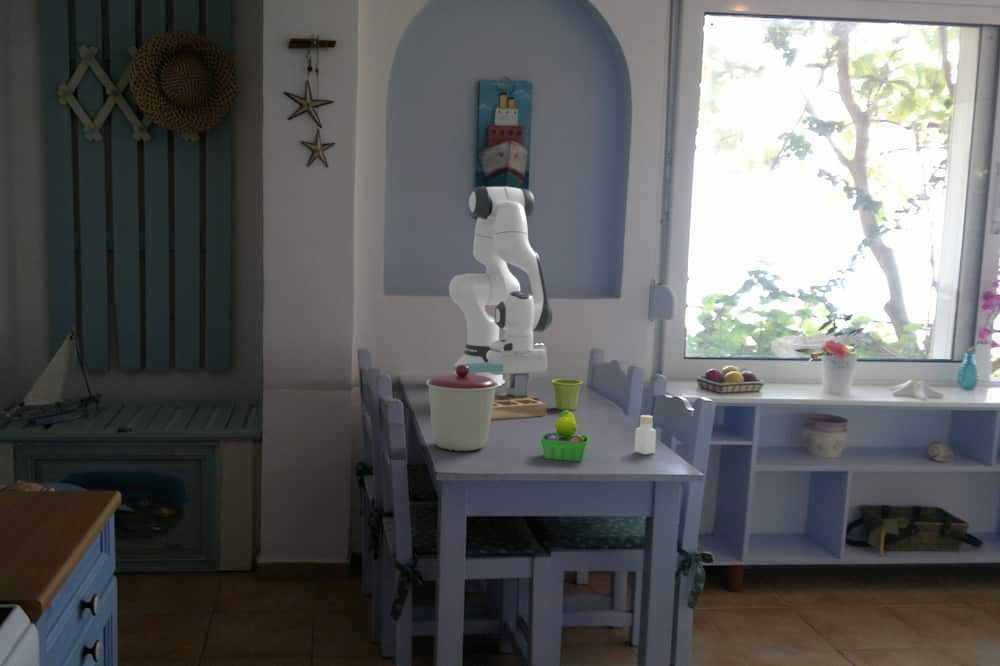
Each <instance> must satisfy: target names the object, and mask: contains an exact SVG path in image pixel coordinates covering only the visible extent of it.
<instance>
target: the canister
mask: <svg viewBox="0 0 1000 666" xmlns="http://www.w3.org/2000/svg"><path fill="white" fill-rule="evenodd" d="M469 371H470V369H469V367H468V366H467V365H458V366H457V367H456V374H454V373H444V374H438V375H434V376H433V377H431V378H430V379H428V380H426V381H425V382H426V383H425V384H426V386H427V387H428V397H429V399H428V400H429V408H430V409H429V410H430V411H429V412H430V422H431V433H432V438H433V442H434V443H435V444H436V446H437V447H438V448H440V449H443V450H446V449H448V450H449V451H452V450H454V451H453V452H470V451H476V450H479V449H482V448H483V447H484V446H485V445H486V443H487V441H488V438H489V434H490V426H491V421H492V420H491V416H492V409H493V402H494V401H495V394H496V389H497V388H498V387H499V386H498V383H496V382H494V381H493V380H492V379H491V378H488V377H485V376H481V375H474V374H469Z"/></svg>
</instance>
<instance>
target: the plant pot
mask: <svg viewBox="0 0 1000 666" xmlns="http://www.w3.org/2000/svg"><path fill="white" fill-rule="evenodd" d="M551 383H552V385H553V388H554V395H555V407H556V409H557V410H560V411H564V410H568V411H574V410H576V408H577V405H578V399H579V393H580V389H581V387H582V386H581V385H582V384H583V381H582V380H578V379H573V378H572V379H571V378H556V379H553V380H551Z"/></svg>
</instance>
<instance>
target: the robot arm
mask: <svg viewBox="0 0 1000 666" xmlns="http://www.w3.org/2000/svg"><path fill="white" fill-rule="evenodd" d="M468 206H469V210H470V211H469V212H470V213H471V214H472V216H474V217H475V218H477V219H476V223H475V231H474V235H473V236H474V239H473V247H472V248H473V249H472V254H473V258H475V260H476V261H477V262H478V263H480V264H481V265H484V266H485V269H486V270H485V273H470V272H469V273H464V274H463V273H462V274H457V275H455V276H453V278H452V279H451V280H450V282H449V283H450V284H449V286H448V292H449V297H450V298H451V300H452V301H453V302H454V303H455V304H456V305H458V307H459V308H460V309H461V311H462V312H463V314H464V316H465V320H466V328H467V330H466V331H467V337H466V338H467V341H466V342H467V343H466V344H464V345H463V346H464V347H463V349H464V351H463V353H464V354H463V355H462V356H461V357H460V358H459V359H458V360H457V361H456V362H455V363H454V365H453V366H452V368H453V370H452V371H453V374H456V367H457V366H458V365H464V364H475V363H489V364H492V365H503V371H499V372H480V373H476V375H481V376H485V377H488V378H491V379H492V380H493V381H494V382H496V383H498V387H501V386H502V385H503V384H505V388H506V389H507V388H512V385H513V383H511V382H510V381H509V378H510V374H523V373H524V374H527V375H528V383H527V388H529V387H530V386H529V385H530V381H531V380H532V378H533V374H537V373H538V374H540V373H542V374H543V373H546V371H547V370H548V356H547V354H548V353H547V349H548V348H547V346H546V345H545V344H544V343H542V342H538V343H535V342H534V332H536V333H537V332H538V333H543V332H545V331H546V330H547V329H548V328H550V326H551V325H552V324H553V311H552V308H551V304H550V301H549V297H548V292H547V286H546V281H545V276H544V272H543V266H542V262H541V258H540V256H539V254H538V252H536V251H535V250H534V249H533V247H531V244H530V242H529V232H528V231H529V229H528V221H527V219H529V218H530V217H531V216H532V215H533V213H534V210H535V197H534V195H533V193H532V191H531V190H529V189H526V188H522V187H520V188H518V187H512V186H504V185H503V186H485V185H483V186H477V187H475V188H473V189H472V191H471V193H470V196H469V199H468ZM508 265H512V266H514V267H516V268H518V269H521V270H522V271H523V272H525V273H526V274H527V276H528V279H529V282H530V287H531V293H532V294H531V293H529V292H526V291H521V284H520V282H519V280H518V279H517V278H516V276H514V274H513V273H512V272H511V271H510V269H509V267H508ZM486 306H495V308H494V309H495V311H494V317H493V316H492V315H489V314H488V313H487V311H486ZM500 329H501V330H504V331H505V334H504V337H502V338H500Z"/></svg>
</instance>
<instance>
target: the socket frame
mask: <svg viewBox="0 0 1000 666" xmlns="http://www.w3.org/2000/svg"><path fill="white" fill-rule="evenodd" d="M524 398H530V399H533V400H536V401H539V402H540V398H539V397H537V396H534V395H532V394H528V393H527V397H521V398H513V397H509V396H507V392H505V393H495V395H494V401H495V400H509V399H524Z"/></svg>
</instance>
